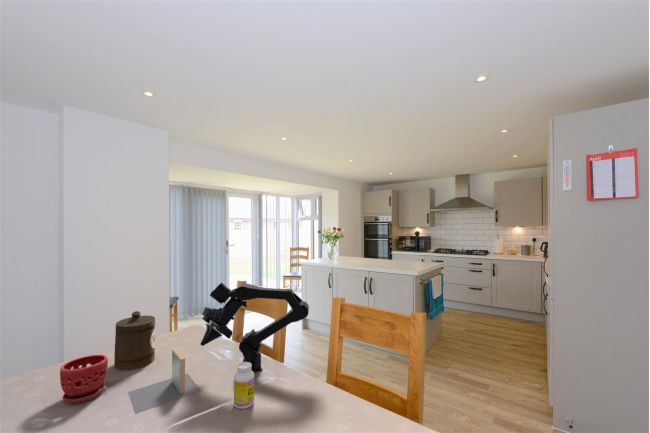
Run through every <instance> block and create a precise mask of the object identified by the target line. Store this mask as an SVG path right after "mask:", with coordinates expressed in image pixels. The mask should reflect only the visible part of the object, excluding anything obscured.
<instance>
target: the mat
mask: <svg viewBox="0 0 650 433" xmlns="http://www.w3.org/2000/svg"><path fill="white" fill-rule="evenodd" d="M198 392H202V390H201V389H200V387H199V386H198V385H197V383H196V382H195V381H194V379H193V378H192V377H191V376H190V374H189V373H185V393H182V394H180V393H179V391H178V390H177V388H176V387H175V385H174V384H173V382H172V377H171V378H168V379H166V380H163V381H159V382H156V383H152V384H149V385H145V386H143V387H139V388H136V389H133V390H131V391H128V396H129V398H130V402H131V405H132V408H133V411H134V414H135V415H137V414H139V413H142V412H146V411H148V410H150V409H153V408H157V407H159V406H162V405H165V404H168V403H170V402H173V401H176V400H178V399H181V398H185V397H188V396H190V395H194V394H196V393H198Z"/></svg>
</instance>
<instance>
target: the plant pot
mask: <svg viewBox="0 0 650 433" xmlns="http://www.w3.org/2000/svg"><path fill="white" fill-rule="evenodd" d="M108 361H109V357H108V356H107V355H105V354H91V355H87V356H82V357H78V358H75V359H71V360H70V361H68V362H66V363H64V364H62V365H61V366H60V369H59V381H60V382H59V383H60V387H61V389H62V391H63V395H62V401H63V402H65V403H68V404H80V403H83V402H87V401H90V400H91V399H93V398H96V397H97V396H99V395H101V393H102V392H103V391H104V390H105V388H106V384H105V383H104V382H105V380H106V377H107V372H108V367H109V365H108V364H109V362H108ZM87 365H89V366H87ZM80 366H81V367H80Z"/></svg>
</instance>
